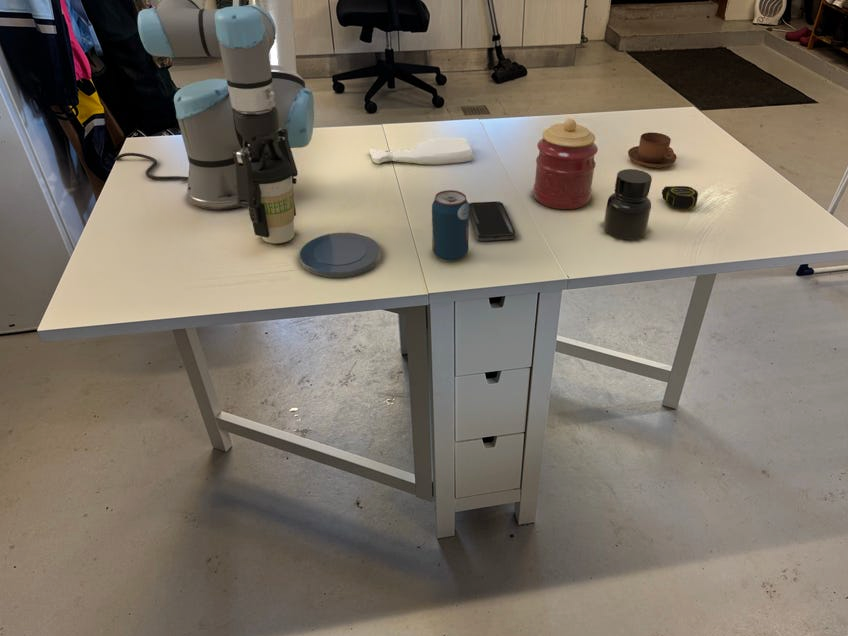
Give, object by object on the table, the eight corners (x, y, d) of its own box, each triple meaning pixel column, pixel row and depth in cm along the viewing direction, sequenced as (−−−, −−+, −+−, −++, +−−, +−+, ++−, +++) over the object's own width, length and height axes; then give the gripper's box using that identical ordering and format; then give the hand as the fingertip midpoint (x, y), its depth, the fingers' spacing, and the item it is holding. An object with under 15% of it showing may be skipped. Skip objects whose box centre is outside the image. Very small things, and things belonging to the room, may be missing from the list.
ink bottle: (648, 223, 140) (659, 169, 133) (647, 243, 134) (659, 188, 126) (602, 218, 142) (610, 164, 134) (599, 237, 135) (608, 182, 127)
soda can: (475, 257, 127) (476, 199, 120) (445, 267, 124) (445, 208, 117) (455, 241, 132) (455, 185, 124) (425, 251, 128) (424, 194, 121)
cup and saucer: (681, 159, 168) (687, 136, 164) (665, 175, 160) (670, 151, 156) (637, 149, 173) (641, 125, 169) (619, 163, 165) (623, 139, 161)
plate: (285, 268, 122) (284, 262, 121) (326, 232, 133) (325, 226, 132) (357, 284, 119) (356, 278, 118) (393, 246, 130) (393, 240, 129)
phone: (501, 201, 144) (516, 234, 132) (501, 205, 144) (515, 239, 133) (466, 202, 143) (477, 236, 131) (465, 207, 143) (477, 241, 132)
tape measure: (689, 198, 150) (692, 183, 148) (699, 212, 145) (703, 196, 143) (660, 199, 150) (663, 183, 147) (669, 212, 145) (672, 197, 142)
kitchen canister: (601, 198, 149) (614, 120, 138) (567, 216, 142) (577, 135, 131) (556, 180, 156) (564, 104, 145) (521, 197, 148) (527, 118, 137)
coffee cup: (291, 250, 126) (278, 176, 117) (243, 244, 128) (227, 170, 118) (311, 227, 134) (301, 155, 124) (266, 221, 135) (252, 150, 126)
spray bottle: (474, 163, 162) (374, 171, 158) (464, 146, 170) (369, 153, 166) (474, 151, 160) (373, 159, 156) (464, 135, 168) (368, 142, 164)
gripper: (235, 131, 106) (261, 254, 120) (306, 93, 122) (321, 205, 136) (196, 124, 108) (226, 246, 122) (271, 87, 124) (289, 199, 138)
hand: (276, 224), depth 129 cm, fingers closed on coffee cup, 9 cm apart
